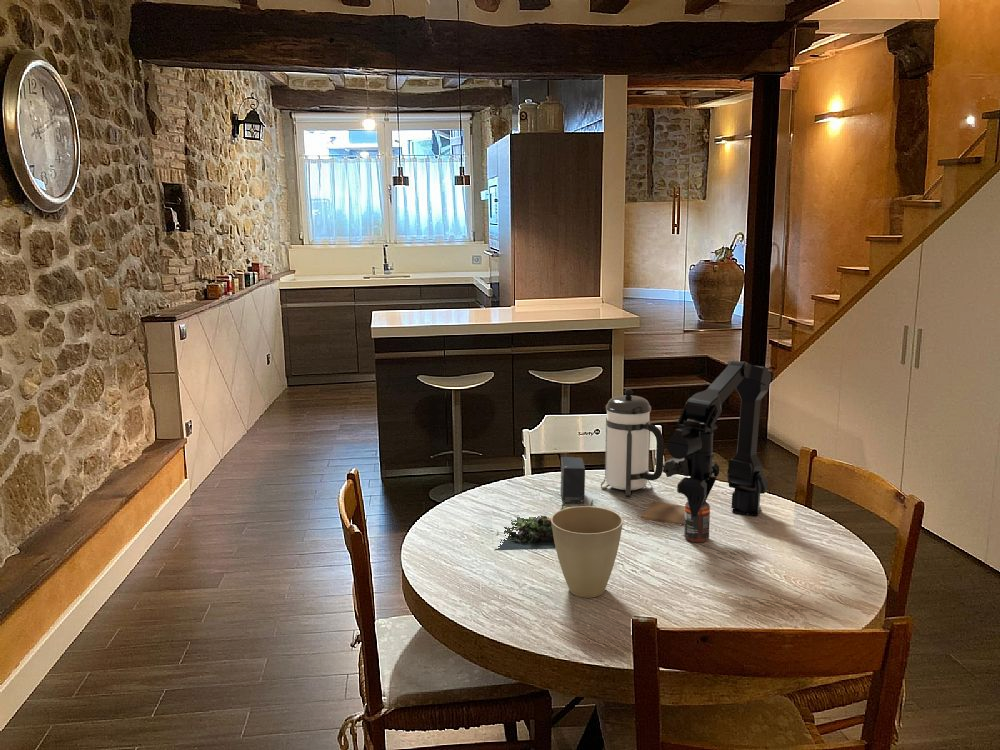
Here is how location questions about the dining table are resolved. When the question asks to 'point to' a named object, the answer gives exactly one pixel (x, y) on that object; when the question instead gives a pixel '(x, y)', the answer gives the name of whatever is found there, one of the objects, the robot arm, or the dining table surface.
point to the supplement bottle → (697, 523)
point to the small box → (572, 480)
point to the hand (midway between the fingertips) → (697, 511)
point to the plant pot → (586, 547)
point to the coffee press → (630, 443)
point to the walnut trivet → (665, 513)
